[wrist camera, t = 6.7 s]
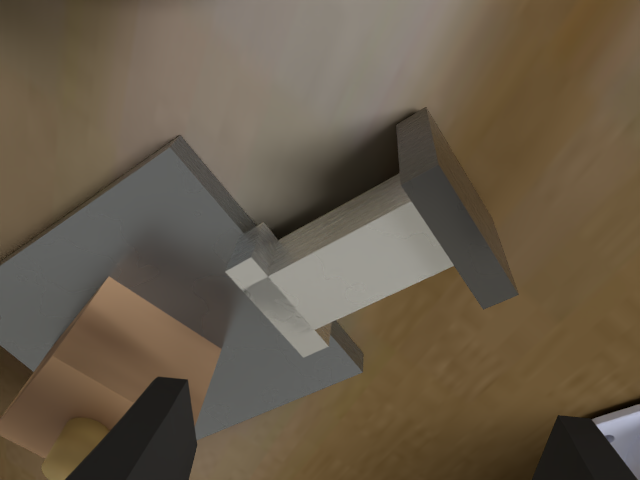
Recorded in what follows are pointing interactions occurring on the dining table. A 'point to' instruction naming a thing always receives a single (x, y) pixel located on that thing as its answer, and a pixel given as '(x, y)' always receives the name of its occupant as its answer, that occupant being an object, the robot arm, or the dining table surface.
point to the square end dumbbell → (376, 245)
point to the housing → (103, 376)
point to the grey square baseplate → (166, 285)
